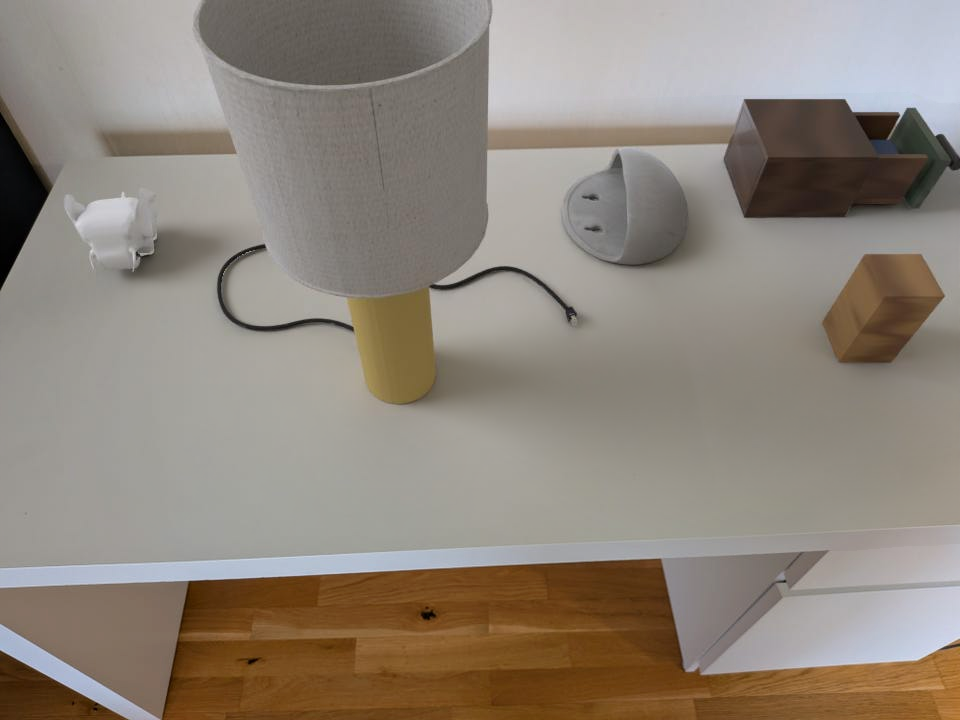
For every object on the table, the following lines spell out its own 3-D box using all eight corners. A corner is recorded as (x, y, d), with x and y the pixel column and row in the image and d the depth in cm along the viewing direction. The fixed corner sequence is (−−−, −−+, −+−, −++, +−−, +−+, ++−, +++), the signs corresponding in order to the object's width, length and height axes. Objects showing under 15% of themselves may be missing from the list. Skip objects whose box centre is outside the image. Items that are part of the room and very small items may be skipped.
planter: (712, 226, 79) (571, 222, 79) (695, 270, 85) (564, 266, 85) (687, 129, 90) (564, 126, 91) (674, 174, 96) (559, 171, 96)
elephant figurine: (82, 292, 82) (45, 237, 75) (101, 225, 89) (69, 169, 82) (164, 284, 83) (134, 229, 76) (176, 218, 90) (150, 163, 83)
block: (876, 165, 94) (890, 139, 91) (887, 184, 92) (902, 158, 88) (846, 165, 94) (859, 139, 91) (856, 184, 92) (870, 158, 88)
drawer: (917, 156, 97) (947, 107, 91) (950, 209, 91) (985, 160, 84) (800, 156, 97) (823, 107, 91) (825, 209, 90) (851, 160, 84)
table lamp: (230, 491, 66) (2, 139, 34) (215, 255, 86) (61, -109, 54) (613, 400, 73) (720, 34, 41) (519, 200, 92) (542, -153, 60)
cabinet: (816, 159, 98) (845, 98, 91) (845, 217, 91) (879, 157, 83) (723, 159, 98) (743, 98, 91) (743, 217, 91) (768, 157, 83)
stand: (872, 321, 80) (921, 253, 71) (891, 362, 76) (945, 296, 67) (821, 321, 80) (864, 253, 71) (838, 362, 76) (885, 296, 67)
